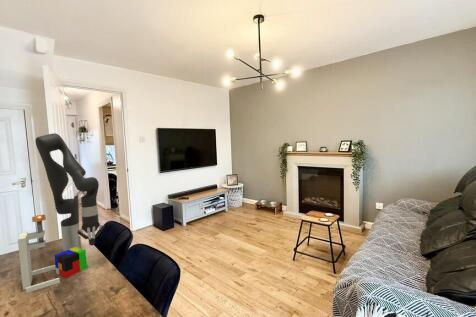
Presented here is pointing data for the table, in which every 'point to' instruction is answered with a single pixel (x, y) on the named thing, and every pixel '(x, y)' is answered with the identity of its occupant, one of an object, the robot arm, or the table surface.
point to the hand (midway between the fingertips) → (92, 244)
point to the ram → (39, 226)
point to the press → (26, 261)
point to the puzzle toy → (70, 262)
